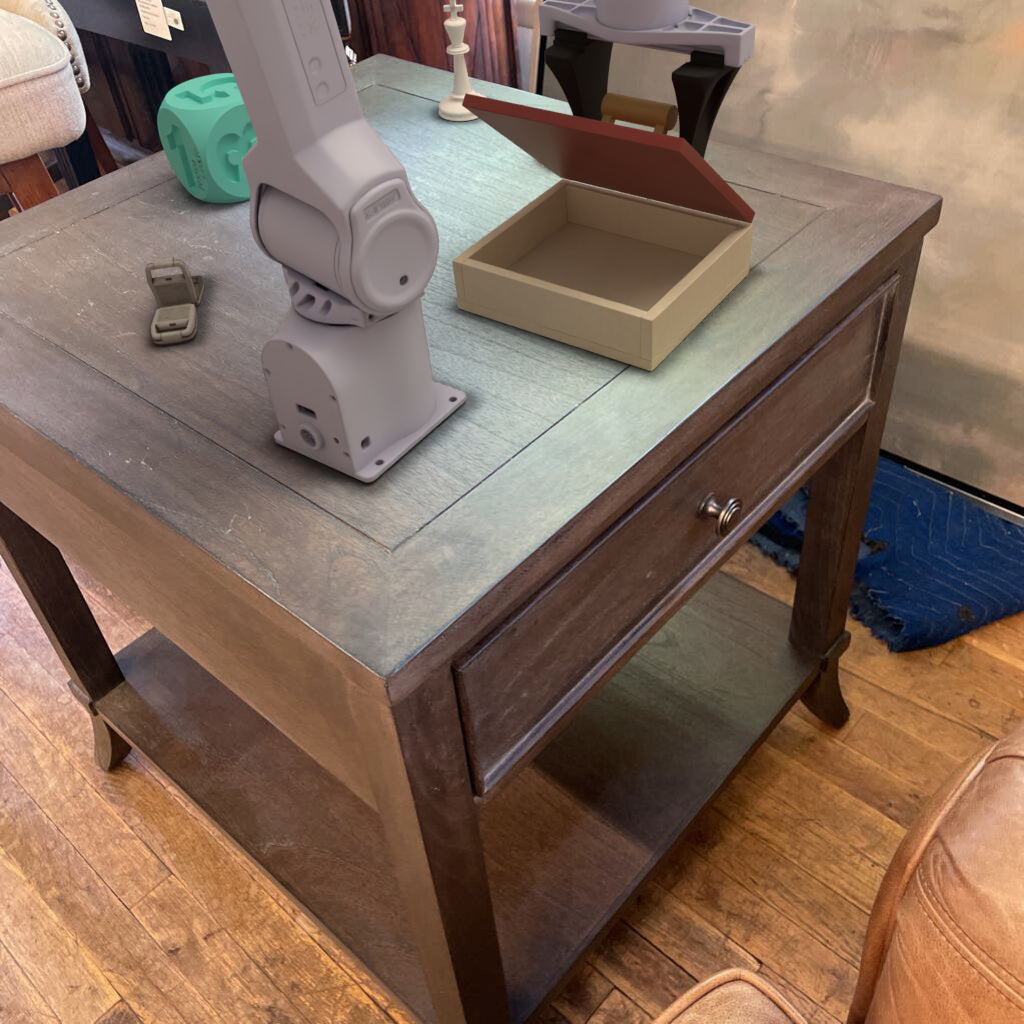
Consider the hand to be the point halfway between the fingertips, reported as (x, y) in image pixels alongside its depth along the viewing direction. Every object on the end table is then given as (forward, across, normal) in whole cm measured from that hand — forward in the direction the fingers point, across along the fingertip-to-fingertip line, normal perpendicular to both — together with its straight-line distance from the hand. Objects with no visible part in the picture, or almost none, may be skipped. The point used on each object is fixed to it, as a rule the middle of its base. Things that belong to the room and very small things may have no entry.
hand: (641, 155), depth 73 cm
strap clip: (+8, +26, +22) cm, 35 cm away
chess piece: (+8, +28, -16) cm, 34 cm away
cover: (-1, 0, +4) cm, 4 cm away
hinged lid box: (+8, 0, +5) cm, 9 cm away
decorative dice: (+8, +38, +5) cm, 39 cm away
